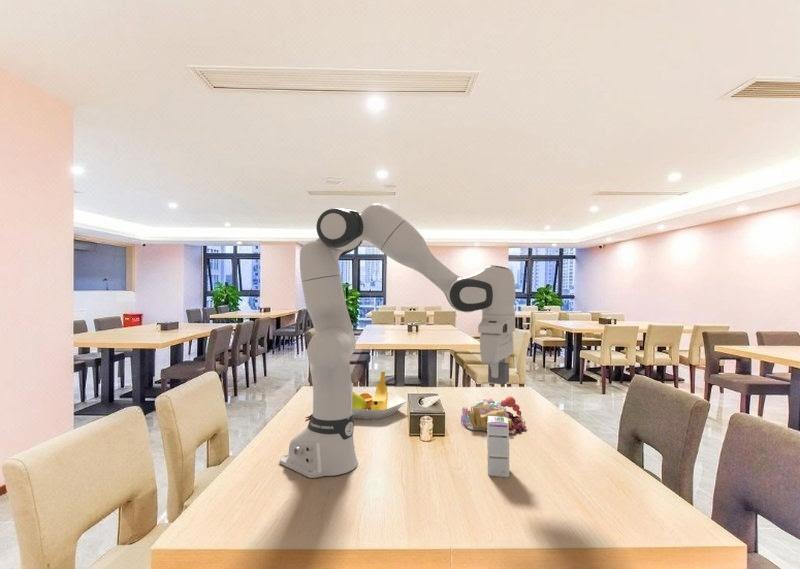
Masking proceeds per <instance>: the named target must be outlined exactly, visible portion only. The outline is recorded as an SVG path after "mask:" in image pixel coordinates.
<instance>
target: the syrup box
mask: <svg viewBox="0 0 800 569" xmlns="http://www.w3.org/2000/svg"><path fill="white" fill-rule="evenodd" d="M486 433H487V434H486V437H487V439H486V443H487V444H486V445H487V476H490V477H499V478H510V433H509V423H508V418H507V417H503V416H488V419H487V431H486Z"/></svg>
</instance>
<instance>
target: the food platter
mask: <svg viewBox="0 0 800 569" xmlns="http://www.w3.org/2000/svg"><path fill="white" fill-rule="evenodd" d="M507 408H512V411H514V412H515V413H516V415H514V414H513V412H510V411H507ZM520 408H521V407H520V405H519V404H517V402H516V399H515V398H514V397H513V396H507V397H506V398H505V399H502V400H501V401H494V400H493V399H492V398H490V397H488V398H483V399H482V400H481V401H477V403H476V405H473V406H471V407H470V409H468V407H462V409H461V412H462V414H461V416H460V424H462V425H464V426H465V427H466V428H467V429H469V430H471V431H486V432H487V419H488V416H503V417H507V418H508V423H509V434H516V432H518V433H521V434H522V430H523V431H526V429H527V426H526V425H525V420H524V417H523V415H522V411H521V410H520Z"/></svg>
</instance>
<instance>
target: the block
mask: <svg viewBox="0 0 800 569" xmlns="http://www.w3.org/2000/svg"><path fill="white" fill-rule="evenodd" d="M487 366H488V367H487V369H488V371H487V372H488V374H487V377H488V378H487V380H488V381H487V382H488V383H491V384H498V385H506V384H507V383H508V382H510V363H509V362H506V363H503V362H499V365H498V368H499V377H497V378H494V377H492V376H491V368H490V364H489V363H487Z"/></svg>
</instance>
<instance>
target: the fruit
mask: <svg viewBox="0 0 800 569" xmlns="http://www.w3.org/2000/svg"><path fill="white" fill-rule="evenodd" d="M375 388H376V389H375V391H361V390H359V391H358V390H357V391H356V392H354V391H353V390H352V413H353V414H354V418H366V419H365V420H382V419H384V418H386V417H388V415H389V416H391V415H393V414H395V413H396V412H397V411H398V410H399V409H401V407H402V406H404V405H405V404H406V403H407V400H406V399H404V398H403V397H401V396H399V395H397V394H396V393H395V392H392V391H390V392H389V391H388V387H387V385H386V372H385V371H380V379H379V382H378V384H377V386H376V387H375ZM387 405H388V406H389V407H390V408H387ZM368 408H369V409H368ZM367 409H368V410H367ZM394 412H395V413H394ZM392 413H393V414H392ZM390 414H391V415H390ZM385 416H386V417H385ZM383 417H384V418H383ZM381 418H382V419H381Z"/></svg>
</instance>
